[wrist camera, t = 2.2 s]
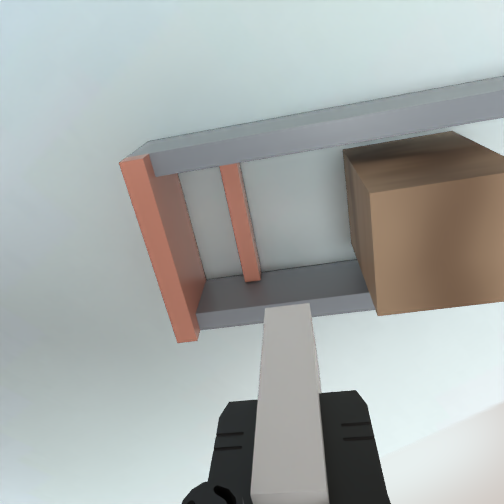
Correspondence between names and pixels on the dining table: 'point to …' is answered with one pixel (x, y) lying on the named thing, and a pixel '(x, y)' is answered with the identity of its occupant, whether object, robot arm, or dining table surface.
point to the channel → (228, 159)
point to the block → (427, 222)
